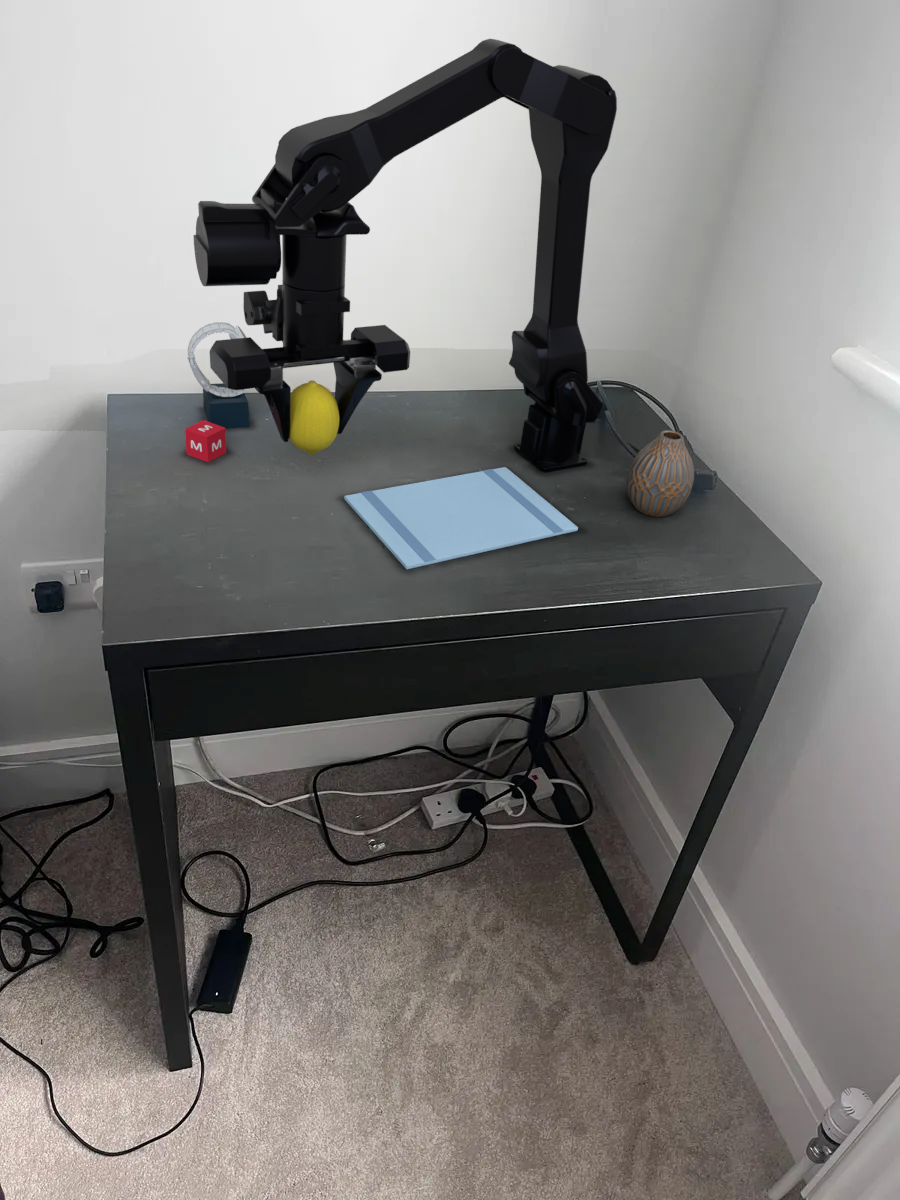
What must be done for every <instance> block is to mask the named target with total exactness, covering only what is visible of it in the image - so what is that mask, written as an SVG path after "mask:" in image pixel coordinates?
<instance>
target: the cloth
mask: <svg viewBox="0 0 900 1200" xmlns="http://www.w3.org/2000/svg"><path fill="white" fill-rule="evenodd" d="M343 499H344V501H346V503H347V504H348V505H349V506H350V508H352V510H353V511H354V512H355V513H356V515H358V517H360V519H361V520H362V521H363V522H364V523H365V524H366V526H368V527H369V529H370V530H371V531H372V532H373V533H374V534H375V535H376V537H377V538H378V539H379V540H380V541H381V542H382V544H383V545H385V547H386V548H387V549H388V550H389V551H390V552H391V553H392V555H393V556H394V558H396V559H397V560H398V562H400V564H401V565H402V566H403V567H404V568H405V569H406V570H410V569H414V568H420V567H424V566H428V565H432V564H437V563H441V562H446V561H450V560H454V559H460V558H464V557H468V556H472V555H476V554H482V553H485V552H490V551H494V550H499V549H503V548H507V547H512V546H517V545H520V544H525V543H531V542H533V541H534V542H535V541H538V540H543V539H546V538H552V537H555V536H560V535H565V534H569V533H574V532H578V530H579V526H577V525H576V524H575V523H573V522H572V521H571V520H570V519H568V518H567V517H566V516H565V515H564V514H562V513H561V512H560V511H559V510H558V509H557V508H555V507H554V506H553V505H552V504H551V503H549V502H548V501H547V500H546V499H545V498H543V497H542V496H541V495H540V494H539V493H538V492H536V491H535V490H534V489H533V488H532V487H530V486H529V485H528V484H527V483H526V482H524V481H523V480H522V479H521V478H520V477H518V476H517V475H516V474H514V473H513V472H512V471H511V470H510V469H508V468H507V466H503V467H498V468H489V469H483V470H481V471H474V472H469V473H464V474H459V475H453V476H448V477H442V478H435V479H430V480H425V481H418V482H414V483H409V484H408V483H407V484H403V485H397V486H391V487H386V488H380V489H374V490H366V491H365V490H364V491H360V492H358V493H353V494H346V495H344V497H343Z"/></svg>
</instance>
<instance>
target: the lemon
mask: <svg viewBox="0 0 900 1200" xmlns="http://www.w3.org/2000/svg"><path fill="white" fill-rule="evenodd" d="M338 428H339V410H338V406H337V402H336V399H335V394H333V393H332V392H331V391H330V389H329V388H327V387H326V386H324V385H323V384H320V383H318V382H317V381H315V380H308V382H305V383H302V384H300V385H297V386H296V387H295V388H293V390H292V391H291V401H290V435H289V441H290V442H291V443H292V444H293V445H294V447H296V448H297V449H299V450H301V451H304V452H305V453H306V454H308V455H309V456H314V455H315V454H316V453H317V452H321V451H323V450H326V449H327V448H328V447H330V446H331V445H332V443H333V442H334V440H336V437H337V435H338V434H337V432H338Z"/></svg>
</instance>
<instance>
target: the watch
mask: <svg viewBox="0 0 900 1200" xmlns="http://www.w3.org/2000/svg"><path fill="white" fill-rule="evenodd" d="M222 333H224V334H228V336H229V339H238V338H248V336H246V334H245V333H244V331H243V330H242V328H241V327H240V326H239V325H236V326H234V325H232V324H230V323H229V322H219V321H218V322H212V323H208V324H205V325H204V326H202V327H200V328H199V329H198V330H196V331H195V332H194V334H193V335H192V336H191V338H190V340H189V342H188V346H187V360H188V363H189V366H190V369H191V372H192V374H193V376H194V378H195V379H196V381H197V383H198V384H199V385H200V386H201V388H202V395H203V396H202V397H203V399H202V400H203V410H204V413H205V417H206V419H207V421H208V422H211V423H213V424H216V425H219V426H222V427H224V428H225V429H240V428H242V429H243V428H250V418H249V417H250V413H249V412H250V411H249V410H250V409H249V400H248V398H247V395H246V393H245V392H247V391H249V390H250V389H242V390H233V389H228V388H227V387H226V385H225V384H224V383H223V382H222V383H221V382H219V383H211V381H210V379H208V378H207V377H206V376H205V375H204V373H203V372H202V371H201V369H200V367H199V365H198V364H197V361H196V355H195V354H194V352H195V350H196V348H197V346H199V344H200V342H201V341H202V340H204V339H206V338H207V337H208V336H211V335H214V334H222Z"/></svg>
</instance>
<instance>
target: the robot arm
mask: <svg viewBox="0 0 900 1200" xmlns="http://www.w3.org/2000/svg"><path fill="white" fill-rule="evenodd" d="M502 98H504V99H506V100H508V101H510V102H512V103H514V104H515V105H518V106H520V107H522V108H525V109H526V110H528V116H529V117H528V119H529V128H530V138H531V142H532V146H533V149H534V153H535V156H536V159H537V163H538V166H539V169H540V177H541V178H540V179H541V181H540V182H541V183H540V193H539V211H538V223H537V224H538V225H537V241H536V253H535V255H536V257H535V269H534V270H535V272H534V288H533V302H532V314H531V317H530V319H529V321H528V322H527V324H526V325H525V328H524V329H523V330H513V331H512V333H511V344H512V352H511V357H510V359H509V362H508V365H509V366H511V367H512V369H514V375H515V377H516V379H517V380H518V381H519V382H520V383H521V384H522V386H523V391H524V395H525V396H527V397H529V398H530V399H531V400H532V401H533V402H534V404H529V407H528V412H527V418H525V419H524V421H523V426H522V433H521V440H520V442H519V443H515V444H514V447H513V449H514V450H515V451H516V452H518V453H519V454H520V455H521V456H522V457H524V458H525V459H526V460H527V461H528V462H530V463H531V464H532V465H534V466H535V467H536V468H537V469H539V470H540V471H541V472H545V473H547V472H552V471H558V470H564V469H567V468H573V467H580V466H585V465H587V464H588V458H586V457H585V456H584V455H582V454H581V450H582V446H583V440H584V436H585V431H586V426H587V423H595V421H596V420H597V419H598V417H599V415H600V413H601V411H602V410H603V408H604V404H603V402H602V401H601V400H600V399H599V397H598V396H597V395H596V393H595V392H594V391H593V390H592V388H591V387H590V386H589V385H588V381H589V374H588V373H589V372H588V354H587V353H588V352H587V349H586V346H585V343H584V340H583V336H582V333H581V330H580V327H579V319H578V318H579V309H580V307H579V306H580V297H581V286H582V277H583V267H584V258H585V256H584V255H585V246H586V235H587V224H588V214H589V204H590V193H591V183H592V178H593V175H594V173H595V172H596V170H597V169H598V166H599V165H600V163H601V162H602V160H603V158H604V157H605V154H606V153H607V151H608V149H609V145H610V141H611V138H612V133H613V128H614V125H615V121H616V116H617V111H618V97H617V93H616V90H614V89H613V87H612V86H611V84H610V83H609V81H608V80H607V79H605V78H604V77H602V76H601V75H599V74H595V73H592V72H588V71H584V70H581V69H578V68H575V67H571V66H568V65H561V64H557V65H554V66H553V65H550V64H548V63H546V62H544V61H543V60H540V59H538V58H535V57H533V55H530V54H528V53H526V52H524V51H523V50H522V48H520V47H519V46H518V45H516V44H513V43H510V42H506V41H503V40H500V39H497V38H496V39H495V38H487V39H483V40H482V41H480V42H479V43H478V44H477V45H476V46H474V48H473V49H471V50H470V51H468V52H466V53H464V54H463V55H461V56H458V57H457V58H455V59H453V60H451V61H450V62H448V63H446V64H444V65H442V66H440V67H439V68H437V69H435V70H434V71H431V72H430V73H427V74H426V75H424V76H422V77H420V78H419V79H417V80H415V81H413V82H411V83H410V84H408V85H406V86H405V87H402V88H401V89H399V90H397V91H395V92H393V93H391V94H389V95H388V96H386V97H384V98H383V99H380V100H379V101H377V102H375V103H373V104H371V105H370V106H367V107H366V108H364V109H360V110H357V111H354V112H349V113H343V114H337V115H332V116H327V117H322V118H320V119H317V120H314V121H311V122H307V123H304V124H301V125H298V126H295V127H293V128H290V129H289V130H288V131H287V132H286V133H284V134H283V135H282V137H281V138H280V139H279V140H278V143H277V144H278V145H277V148H276V152H275V156H274V161H275V162H274V165H273V166H272V167H271V169H270V170H269V172H268V173H267V175H266V176H265V178H264V179H263V181H262V182H261V184H260V185H259V186H258V188H257V189H256V191H255V192H254V193H253V195H252V197H251V201H252V203H224V202H219V201H216V200H200V201H199V202H198V203H197V207H198V216H197V218H196V222H195V223H196V224H195V234H193V248H194V249H193V250H194V258H195V259H194V260H195V264H196V270H197V273H198V278H199V281H200V283H201V285H202V286H203V287H228V286H230V287H233V286H260V285H261V286H265V285H268V284H269V283H270V281H271V280H275V279H277V275H278V273H279V272H280V270H281V269H282V275H281V277H282V279H281V281H282V283H281V284H277V289H276V299H269V296H268V294H267V291H266V290H252V291H244V292H243V305H242V306H243V316H244V321H245V324H246V325H247V326H262V328H263V333H264V334H267V335H268V334H272V335H271V336H272V339H274V340H275V341H276V342H282V346H279V347H270V348H269V347H268V348H262V347H261V346H260V345H259V344H258V343H257V342H256V341H255V340H254V339H253V338H251V337H247V338H238V339H230V338H229V339H217V340H215V341H214V343H213V344H212V346H211V348H210V349H209V366H210V369H211V370H212V372H213V373H214V374H215V375H216V377H218V379H219V380H220V381H221V382H222V383H224V384H225V385H226V387H227V388H228V389H233V390H242V389H249V390H250V389H254V390H255V391H256V392H257V393H259V394H260V395H263V396H264V398H265V400H266V402H267V405H268V407H269V410H270V413H271V415H272V418H273V420H274V424H275V426H276V429H277V431H278V434H279V437H280V439H281V440H282V441H283V443H288V442H289V441H290V439H289V435H290V401H291V392H292V391H291V390H292V389H291V386H290V385H289V384H288V383H287V382H286V381H285V380H284V369H288V368H289V369H290V368H297V367H307V366H316V365H325V364H332V363H333V368H334V369H333V370H334V374H335V387H334V389H335V390H334V397H335V399H336V402H337V406H338V410H339V428H338V432H337V435H341V434H342V433H343V431H344V430H345V428H346V426H347V424H348V423H349V421H350V419H351V417H352V416H353V414H354V412H355V411H356V409H357V407H358V405H359V404H360V403H361V401H362V399H363V398H364V397H365V395H366V393H367V392H368V391H369V390H370V388H371V387H372V386H373V384H374V383H375V382H379V381H381V380H382V378H383V375H382V373H393V372H400V371H407V370H409V368H410V363H411V349H410V346H409V343H408V342H407V341H406V340H405V339H404V338H403V337H402V336H400V335H399V334H398V333H396V332H395V331H394V330H392V329H391V328H389V327H388V326H387V325H386V324H378V325H369V326H357V327H354V328H353V330H352V331H351V333H350V339H344V327H345V325H344V324H345V323H344V322H345V321H344V320H345V313H350V312H351V300H350V299H349V298H347V297H346V296H345V295H346V294H345V293H346V264H347V263H346V262H347V261H346V260H347V259H346V258H347V236H349V235H350V236H351V235H354V236H355V235H356V236H357V235H358V236H359V235H363V236H364V235H368V234H370V232H371V228H370V226H369V225H368V224H367V223H366V222H365V221H364V220H363V219H362V218H361V217H360V215H359V214H358V212H357V211H356V208H355V206H354V205H353V204H351V203H350V201H351V200H353V198H355V197H356V196H357V195H359V194H360V193H361V192H362V191H363V190H365V189H366V188H367V187H368V186H370V185H371V183H373V181H374V180H375V178H376V177H377V176H378V175H379V173H380V172H381V170H382V169H383V168H384V167H385V166H386V165H387V164H388V163H389V162H391V161H392V160H393V159H394V158H396V157H397V156H399V155H401V154H403V153H405V152H406V151H408V150H410V149H412V148H414V147H415V146H417V145H419V144H421V143H423V142H424V141H426V140H428V139H430V138H431V137H433V136H435V135H437V134H439V133H441V132H443V131H445V130H446V129H448V128H450V127H451V126H453V125H456V124H457V123H459V122H461V121H462V120H464V119H466V118H468V117H469V116H471V115H473V114H475V113H476V112H479V111H480V110H482V109H483V108H486V107H487V106H489V105H491V104H493V103H494V102H497V101H498V100H500V99H502ZM281 267H282V268H281ZM377 368H378V369H379V370H380V371H382V372H380V371H379V370H378V369H377Z"/></svg>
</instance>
